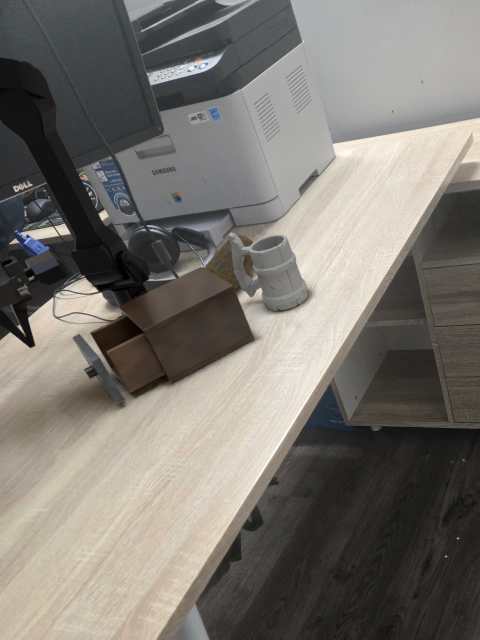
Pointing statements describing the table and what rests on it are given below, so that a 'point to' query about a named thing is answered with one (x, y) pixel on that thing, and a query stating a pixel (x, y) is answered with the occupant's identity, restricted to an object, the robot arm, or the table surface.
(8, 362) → the table surface
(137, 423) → the table surface
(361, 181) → the table surface
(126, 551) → the table surface
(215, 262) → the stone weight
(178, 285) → the cabinet
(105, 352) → the drawer
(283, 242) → the mug
